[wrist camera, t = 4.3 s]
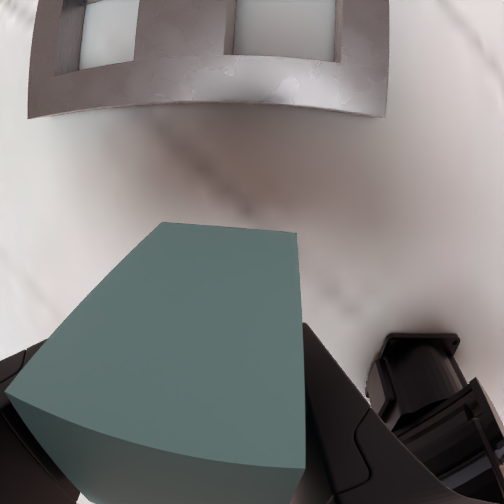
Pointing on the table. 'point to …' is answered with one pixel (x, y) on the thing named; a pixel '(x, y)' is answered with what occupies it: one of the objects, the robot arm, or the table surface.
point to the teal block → (178, 374)
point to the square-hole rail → (206, 62)
